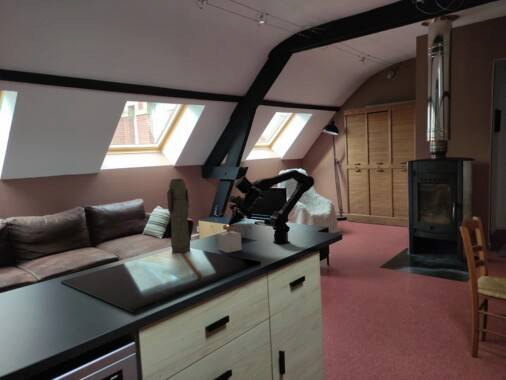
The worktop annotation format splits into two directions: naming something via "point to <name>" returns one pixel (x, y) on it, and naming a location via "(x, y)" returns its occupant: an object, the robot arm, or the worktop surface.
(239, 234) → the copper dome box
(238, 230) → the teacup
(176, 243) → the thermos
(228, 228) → the plunger
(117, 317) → the worktop surface
